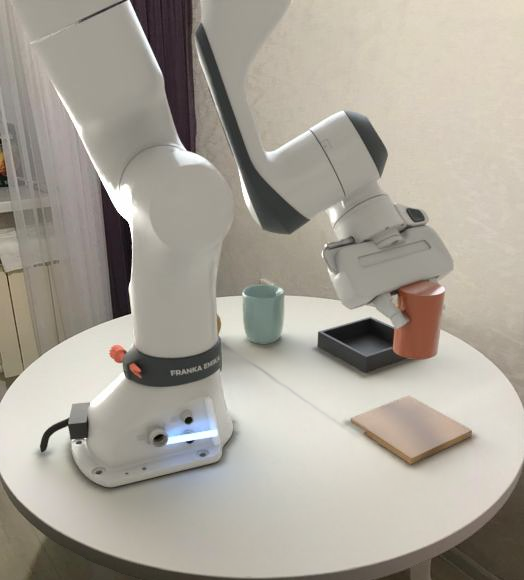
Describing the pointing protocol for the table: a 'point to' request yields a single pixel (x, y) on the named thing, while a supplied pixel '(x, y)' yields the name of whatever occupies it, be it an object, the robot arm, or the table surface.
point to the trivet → (411, 429)
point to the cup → (263, 313)
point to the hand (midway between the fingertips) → (422, 318)
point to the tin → (361, 344)
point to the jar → (419, 320)
